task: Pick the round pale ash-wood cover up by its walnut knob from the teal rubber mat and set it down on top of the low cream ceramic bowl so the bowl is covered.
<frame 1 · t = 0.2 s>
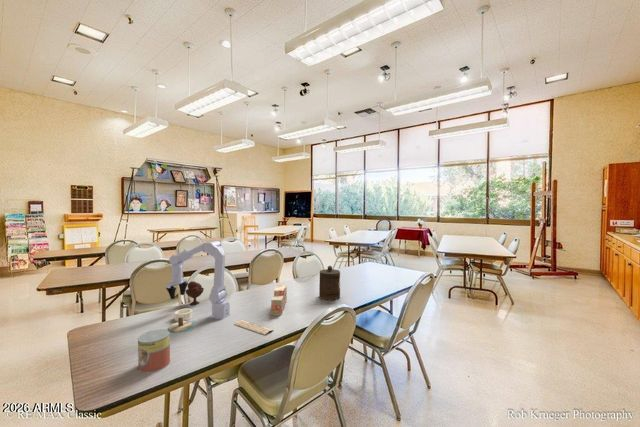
hand: (177, 296, 171), 10 cm above the table, tool pointing down, fingers open, 7 cm apart
mat: (180, 328, 150), on the table
cover: (180, 327, 150), point 1 cm above the table, touching mat
canned food: (154, 365, 116), on the table
wooden container: (329, 296, 203), on the table
tan wooden plank: (253, 329, 151), on the table
ice cream bowl: (194, 303, 188), on the table
bowl: (183, 319, 162), on the table
stack of blocks: (279, 309, 179), on the table
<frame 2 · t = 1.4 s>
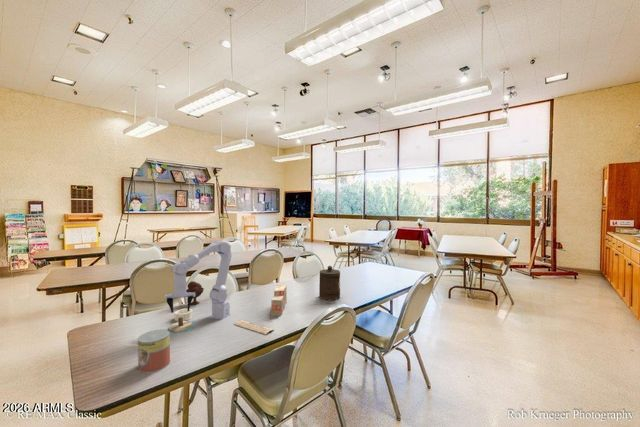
hand: (180, 311, 150), 9 cm above the table, tool pointing down, fingers open, 7 cm apart
nothing on the table moved.
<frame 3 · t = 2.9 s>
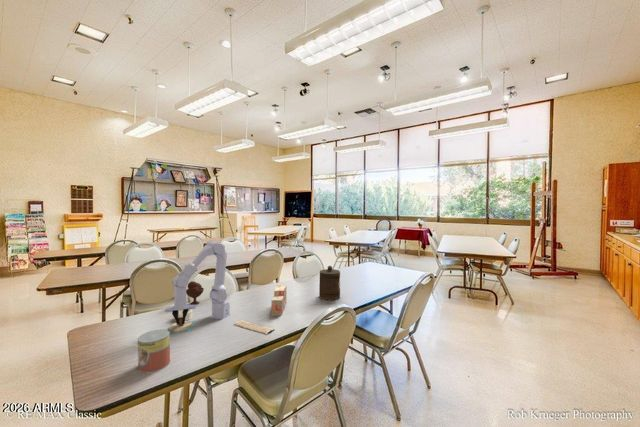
hand: (180, 323, 150), 2 cm above the table, tool pointing down, fingers closed on cover, 2 cm apart
cover: (180, 327, 150), point 1 cm above the table, touching gripper, mat
everything else where it was.
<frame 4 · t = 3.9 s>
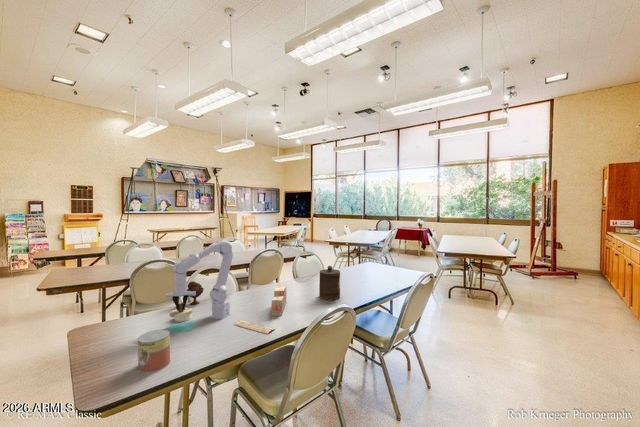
hand: (181, 309, 151), 9 cm above the table, tool pointing down, fingers closed on cover, 2 cm apart
cover: (181, 313, 151), point 8 cm above the table, touching gripper
everything else where it was.
when the fingers open (7 cm above the table, at t = 5.1 s): cover stays where it is, resting on bowl.
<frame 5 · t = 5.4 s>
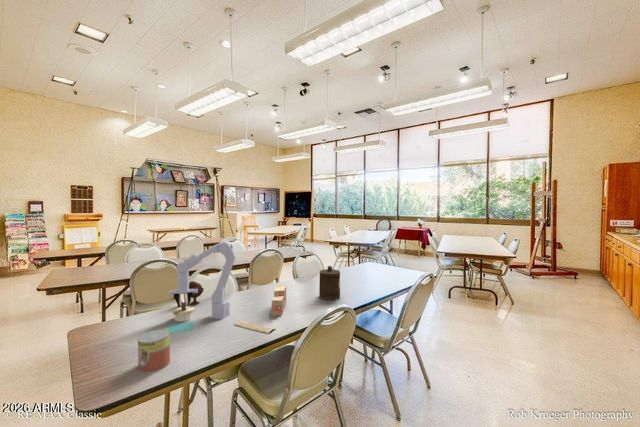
hand: (183, 306, 162), 7 cm above the table, tool pointing down, fingers open, 4 cm apart
cover: (183, 311, 162), point 4 cm above the table, touching bowl
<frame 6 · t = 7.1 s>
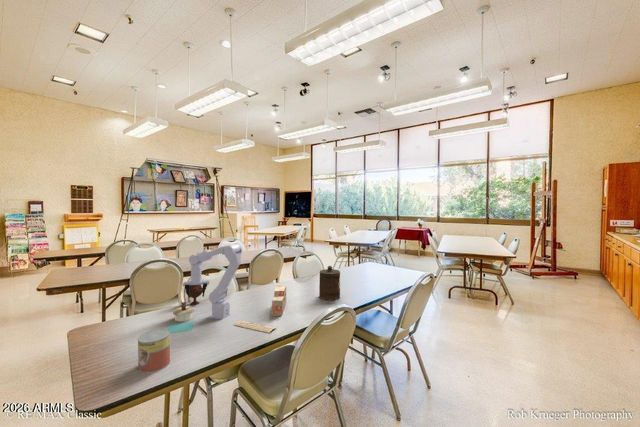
hand: (196, 296, 170), 10 cm above the table, tool pointing down, fingers open, 7 cm apart
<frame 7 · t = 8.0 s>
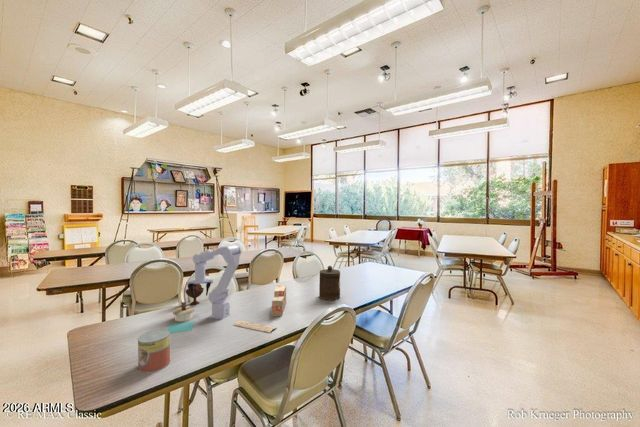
hand: (200, 295, 172), 10 cm above the table, tool pointing down, fingers open, 7 cm apart
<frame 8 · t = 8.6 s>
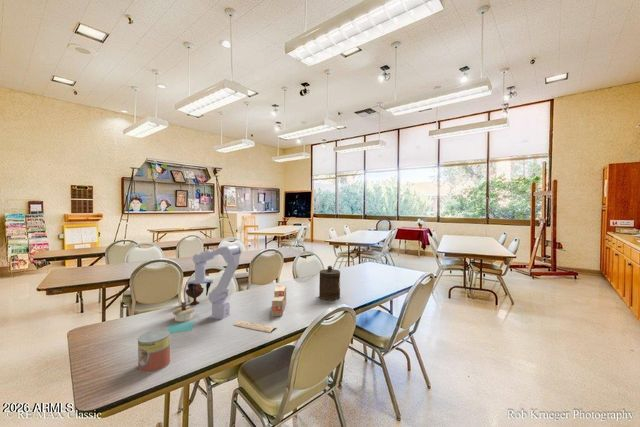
hand: (200, 295, 172), 10 cm above the table, tool pointing down, fingers open, 7 cm apart
at the end: cover 0.4 cm off-centre on the bowl, point 4.5 cm above the bowl's base; cover tilted 0°; the gripper is holding nothing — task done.
